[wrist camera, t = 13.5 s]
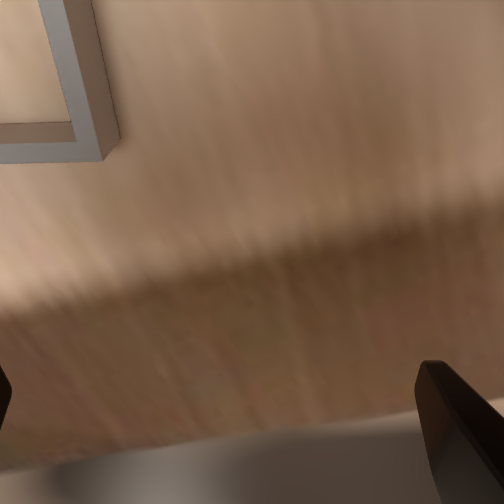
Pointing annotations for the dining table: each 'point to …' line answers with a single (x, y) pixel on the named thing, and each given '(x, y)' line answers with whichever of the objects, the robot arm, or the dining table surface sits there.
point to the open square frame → (69, 95)
